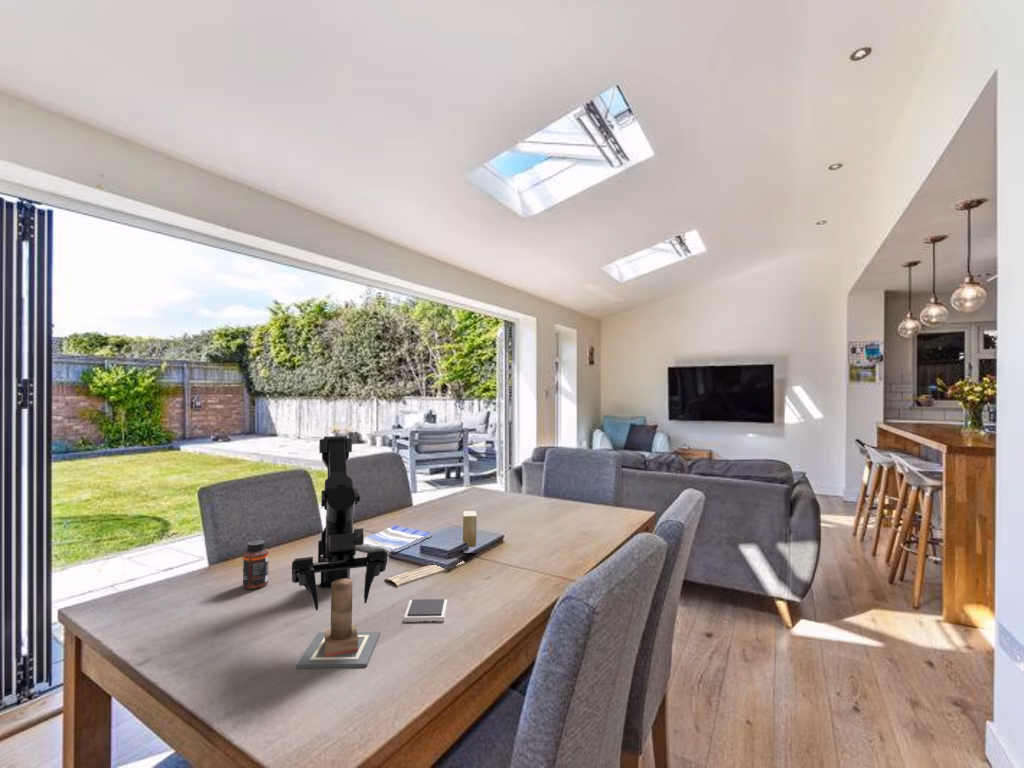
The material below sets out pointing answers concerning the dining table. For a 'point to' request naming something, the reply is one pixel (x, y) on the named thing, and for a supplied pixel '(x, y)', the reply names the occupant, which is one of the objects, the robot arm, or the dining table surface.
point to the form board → (360, 658)
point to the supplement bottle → (255, 565)
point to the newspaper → (418, 574)
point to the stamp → (341, 620)
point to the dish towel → (391, 538)
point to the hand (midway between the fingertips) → (341, 606)
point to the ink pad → (426, 610)
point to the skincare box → (469, 528)
